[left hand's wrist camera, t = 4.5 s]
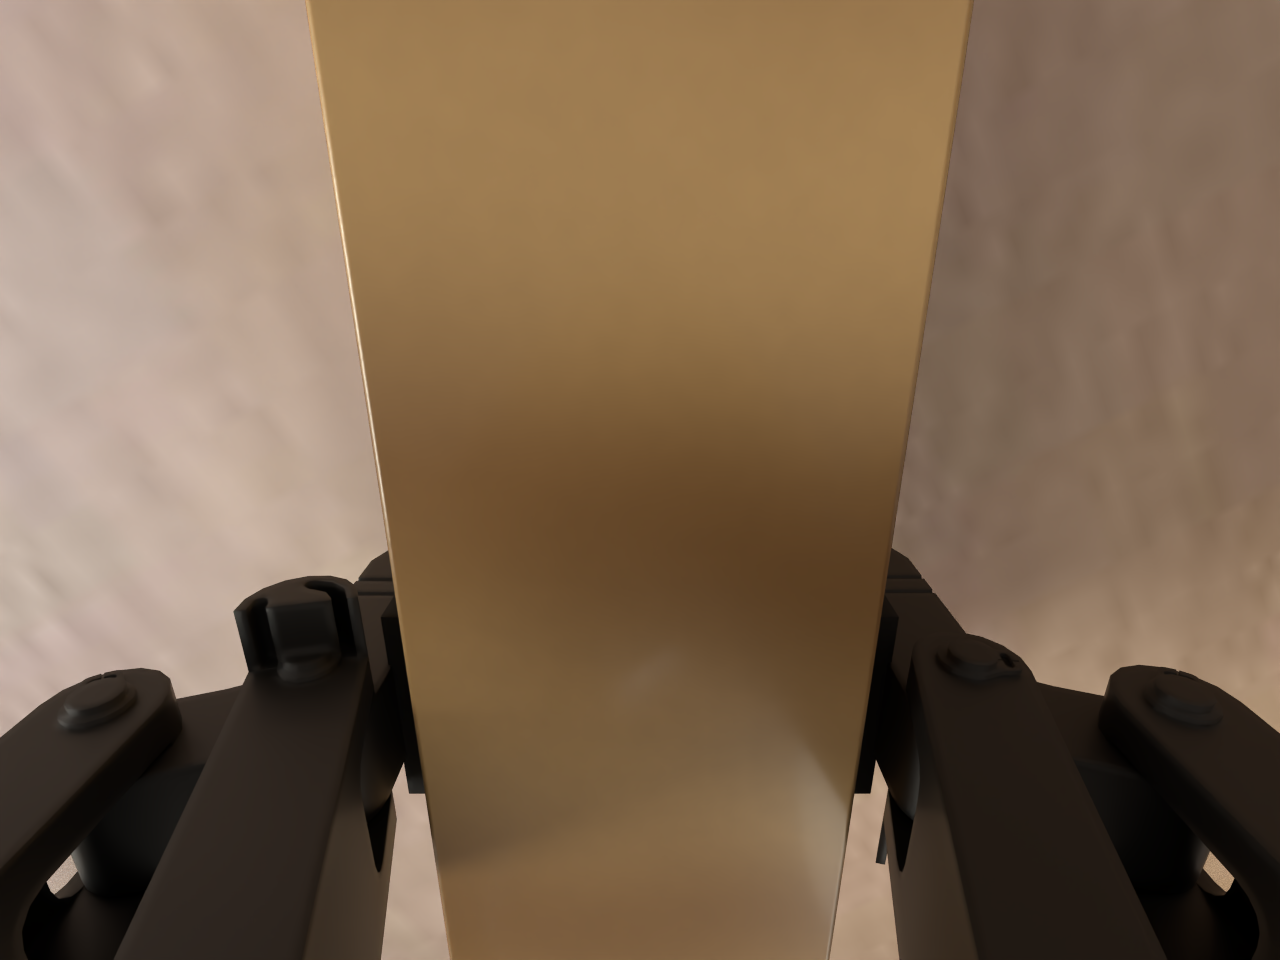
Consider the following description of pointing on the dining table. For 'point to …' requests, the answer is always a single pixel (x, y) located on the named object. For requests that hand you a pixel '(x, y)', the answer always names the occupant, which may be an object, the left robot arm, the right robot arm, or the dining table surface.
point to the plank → (639, 435)
